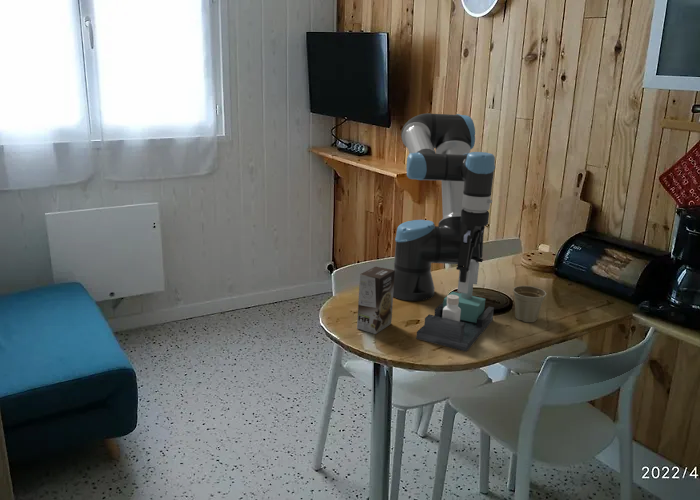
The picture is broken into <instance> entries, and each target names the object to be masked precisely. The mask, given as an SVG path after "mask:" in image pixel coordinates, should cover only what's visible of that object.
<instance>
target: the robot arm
mask: <svg viewBox="0 0 700 500" xmlns="http://www.w3.org/2000/svg"><path fill="white" fill-rule="evenodd" d="M400 132H401V134H400V136H401V141H402V143H403V145H404V147H406V148H407V150H408V153H409V154H408V155H407V158H406V177H407V178H408V179H409V180H417V181H440V182H441V198H442V199H441V201H442V202H441V204H442V219H441V220H439V222H438V225H437V226H436V224H435V222H434V221H432V220H429V219H428V220H427V219H413V220H408V221H404V222H402V223H401V224H399V225H398V226H397V229H396V233H395V234H396V235H395V238H394V239H395V248H394V249H395V250H394V263H393V270H395V276H394V290H393V298H395V299H398V300H402V301H410V302H422V301H426V300H429V299H431V298H433V297H434V296H435V285H434V280H433V277H432V272H431V271H432V270H431V269H432V264H444V265H445V264H446V265H456V270H457V271H458V281H457V293H466V294H467V293H468V284H469V275H470V271H469V266H470V262H471V259H473V260H475V261H476V263H475V272H474V282H473V285H478V278H479V268H480V263H483V261H484V259H483V251H484V250H483V249H484V233H485V228H486V227H485V226H487V225H488V224H489V219H490V212H489V210H490V207H491V204H492V203H493V199H491V198H492V189H493V183H494V181H493V180H494V175H495V174H494V173H495V169H496V166H495V165H496V164H495V160H496V159H495V155H494V154H493V153H489V152H485V151H471V150H472V149H474V147H475V144H476V143H475V142H476V128H475V123H474V121H473V118H472V117H470V116H469V115H467V114H459V113H456V114H449V113H447V114H445V113H443V114H442V113H430V112H429V113H421V114H418V115H416V116H413V117H412V118H410V119H409V120H408V121H407V122H405V124H404V125H403V127H402V129H401V131H400Z"/></svg>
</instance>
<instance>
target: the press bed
mask: <svg viewBox="0 0 700 500" xmlns="http://www.w3.org/2000/svg"><path fill="white" fill-rule="evenodd" d="M494 310H495V307H493V306H488V307H487V308H486V309H484V312H483V313H482V314H481V316H480V317H479V318H478V319H477V323H473V322H469V321H465V320H460V321H455V320H451V319H447V318H443V317H442V313H443V302H441V303H440V304H439V305H438V306H437V307H436V308H434V315H433V314H428V315H427V316H426V317H424V325H422V327H420V328H419V329H418V330H417V331H416V336H415V339H417V340H419V341H423V342H424V341H425V342H428V343H432V344H435V345H439V346H443V347H446V348H451V349H455V350H458V351H462V352H466V353H467V351H469V349H470V348H471V347H472V346H473V345H474V343H475V342H476V341H477V340H478V339H479V337H480V336H481V335H482V334H483V333H484V331H485V330H486V329H487V328H488V326H490V325H491V323H492V322H493V319H494Z"/></svg>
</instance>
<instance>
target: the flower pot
mask: <svg viewBox="0 0 700 500" xmlns="http://www.w3.org/2000/svg"><path fill="white" fill-rule="evenodd" d="M512 293H513V295H514V306H515V307H514V309H515V310H514V312H515V314H514V316H515V318H516V320H518V321H522V322H524V323H535V322H536V321H537V320H538V318H539V314H540V311H541V307H542V303H543V301H544V300H545V298H546V296H547V292H546V291H545V290H544V289H542V288H539V287H537V286H532V285H518V286H514V287H513V288H512Z"/></svg>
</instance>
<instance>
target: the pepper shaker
mask: <svg viewBox="0 0 700 500" xmlns="http://www.w3.org/2000/svg"><path fill="white" fill-rule="evenodd" d="M446 297H447V306H445V307H444V308H443V314H442V317H443V318H447V319H451V320H455V321H460V314H461V309H460V308H459V307H458V304H459V296H457V295H449V294H447V296H446Z"/></svg>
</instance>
